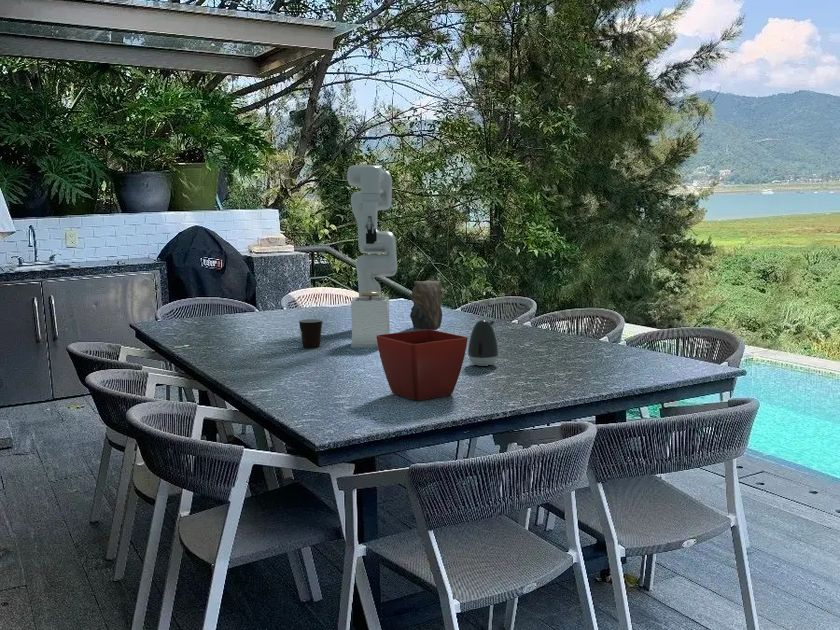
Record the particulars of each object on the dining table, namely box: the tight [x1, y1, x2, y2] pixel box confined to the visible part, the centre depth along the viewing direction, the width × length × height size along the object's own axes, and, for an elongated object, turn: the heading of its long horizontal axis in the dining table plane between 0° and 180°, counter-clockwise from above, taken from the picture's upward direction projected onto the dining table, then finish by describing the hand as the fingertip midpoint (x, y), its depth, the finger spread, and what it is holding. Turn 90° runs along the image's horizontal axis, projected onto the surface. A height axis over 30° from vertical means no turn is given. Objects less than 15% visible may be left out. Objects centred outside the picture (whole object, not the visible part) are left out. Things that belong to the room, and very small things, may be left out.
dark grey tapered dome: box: [467, 319, 500, 367], centre depth 284 cm, size 10×10×15 cm
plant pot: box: [377, 329, 469, 402], centre depth 242 cm, size 19×19×17 cm
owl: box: [409, 279, 443, 331], centre depth 370 cm, size 13×13×20 cm
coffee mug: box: [298, 318, 323, 350], centre depth 326 cm, size 12×9×10 cm
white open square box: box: [350, 296, 391, 349], centre depth 327 cm, size 14×14×18 cm
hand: (371, 242), depth 334 cm, fingers open, 9 cm apart
